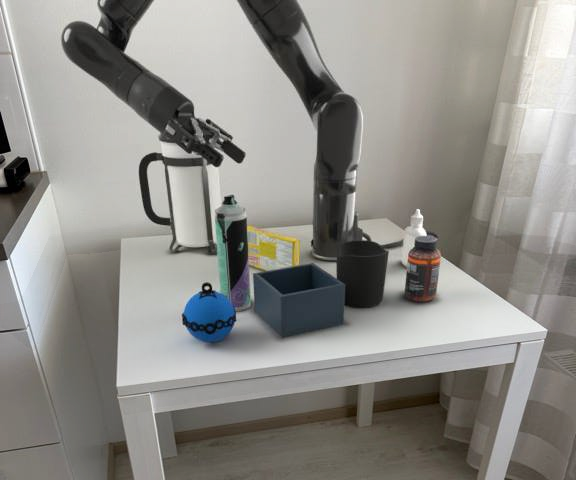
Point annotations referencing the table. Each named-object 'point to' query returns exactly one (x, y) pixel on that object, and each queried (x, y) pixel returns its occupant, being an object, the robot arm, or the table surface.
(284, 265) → the candy box
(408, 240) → the eye dropper bottle
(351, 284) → the pen holder
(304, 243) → the table surface
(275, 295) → the bin
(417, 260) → the supplement bottle
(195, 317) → the ornament
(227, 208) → the spray can
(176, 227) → the coffee press
